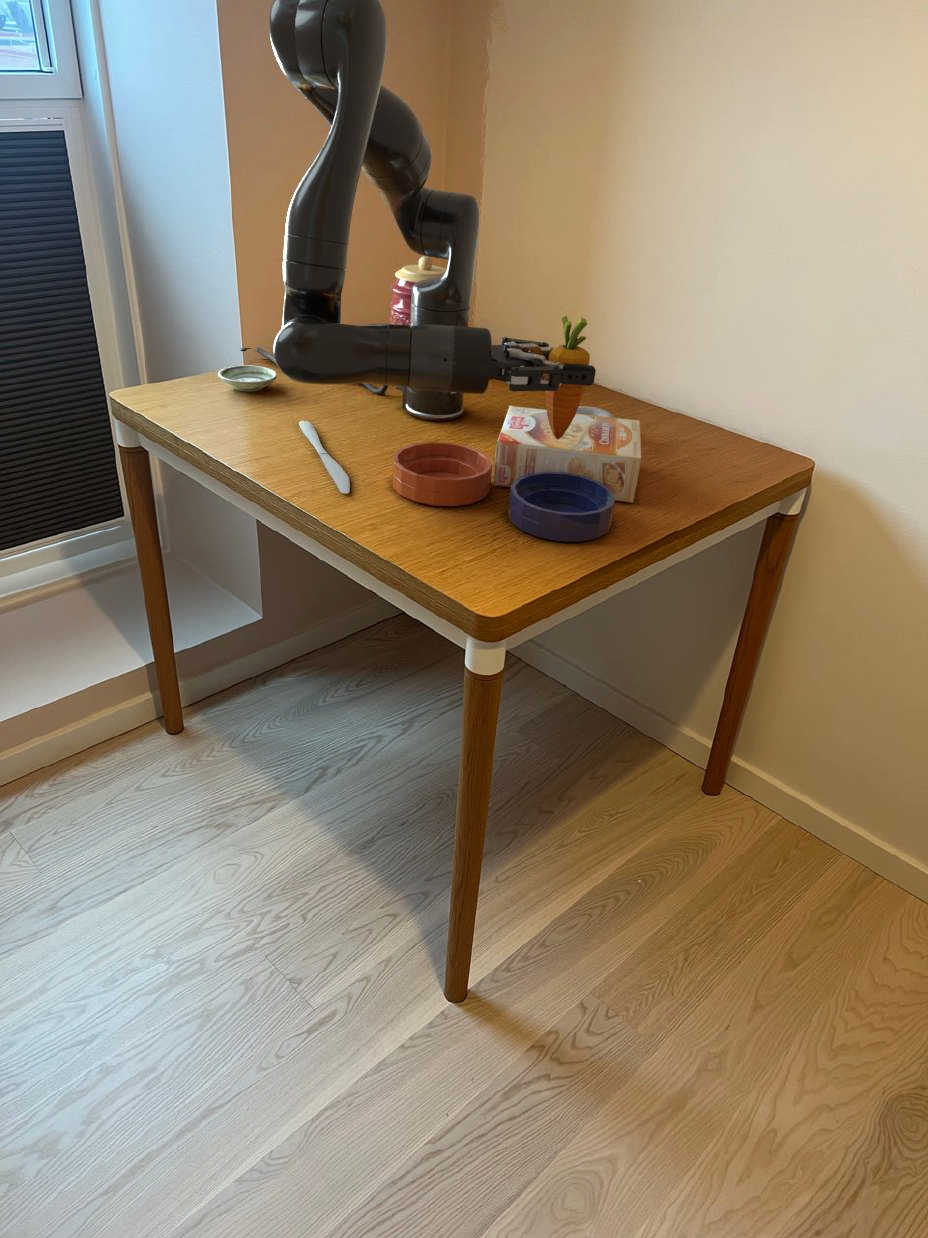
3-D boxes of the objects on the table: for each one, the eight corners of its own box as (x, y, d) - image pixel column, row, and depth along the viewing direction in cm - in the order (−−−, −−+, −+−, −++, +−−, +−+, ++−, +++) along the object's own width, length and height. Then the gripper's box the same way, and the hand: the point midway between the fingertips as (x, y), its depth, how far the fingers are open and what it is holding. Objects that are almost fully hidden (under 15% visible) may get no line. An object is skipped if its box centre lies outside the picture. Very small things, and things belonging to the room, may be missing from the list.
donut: (551, 440, 144) (614, 448, 142) (553, 419, 142) (617, 427, 141) (558, 420, 152) (618, 427, 151) (560, 399, 150) (621, 407, 149)
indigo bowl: (487, 518, 118) (490, 489, 116) (547, 490, 127) (551, 463, 125) (571, 554, 111) (576, 524, 109) (628, 522, 120) (634, 494, 118)
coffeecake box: (642, 456, 121) (496, 439, 123) (633, 505, 125) (492, 488, 127) (640, 417, 134) (508, 403, 135) (632, 463, 137) (504, 448, 139)
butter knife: (316, 419, 142) (296, 419, 141) (358, 492, 121) (336, 493, 120) (315, 423, 142) (296, 423, 141) (358, 496, 121) (336, 497, 120)
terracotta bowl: (372, 485, 124) (373, 457, 122) (437, 461, 133) (438, 434, 131) (445, 517, 117) (447, 488, 115) (508, 489, 126) (511, 462, 124)
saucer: (289, 387, 156) (289, 373, 155) (249, 400, 149) (248, 385, 148) (247, 374, 160) (246, 360, 159) (206, 386, 153) (205, 372, 152)
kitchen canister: (381, 354, 176) (383, 258, 167) (396, 337, 187) (399, 246, 178) (447, 362, 175) (453, 266, 166) (459, 345, 186) (465, 253, 177)
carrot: (535, 430, 115) (551, 308, 107) (573, 432, 116) (592, 311, 108) (540, 445, 111) (558, 319, 103) (580, 447, 112) (600, 322, 104)
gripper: (453, 343, 99) (606, 353, 101) (447, 311, 112) (584, 321, 113) (448, 410, 103) (596, 419, 105) (443, 372, 116) (575, 380, 117)
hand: (589, 368), depth 109 cm, fingers closed on carrot, 5 cm apart
